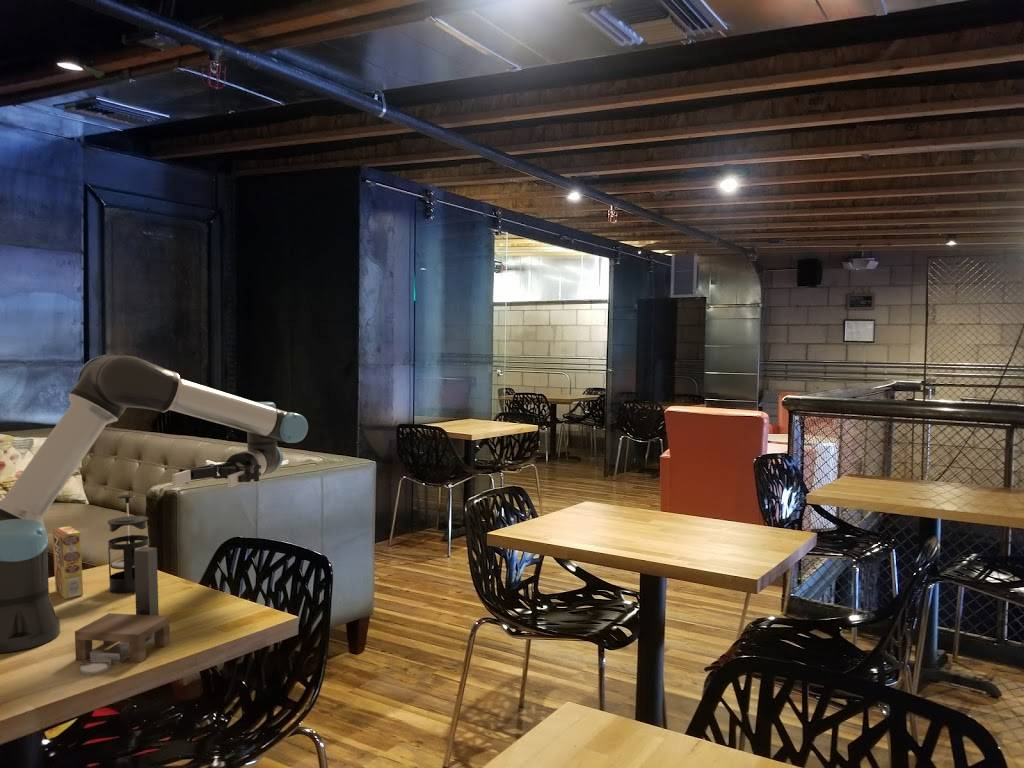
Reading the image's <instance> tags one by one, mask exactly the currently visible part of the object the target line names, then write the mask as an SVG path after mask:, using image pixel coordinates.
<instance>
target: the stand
mask: <svg viewBox="0 0 1024 768" xmlns="http://www.w3.org/2000/svg"><path fill="white" fill-rule="evenodd" d="M170 629H171V628H170V615H159V616H158V615H136V613H135V614H133V613H132V614H131V613H111V612H109V613H107V614H105V615H103V616H101V617H100V618H98V619H96V620H93V621H92V622H91V623H88V624H86V625H84V626H82V627H80V628H79V629H78V630H75V631H74V642H75V643H74V645H75V661H82V662H84V661H86V660H88V659H90V652H91V651H93V641H97V642H98V641H99V642H103V645H115V643H116V644H117V643H119V642H129V657H128V659H129V664H137V663H140V664H141V663H143V662H144V661H146V660H147V654H146V647H147V646H145V638H147V637H149V636H150V635H152V634H153V633H154V638H155V640H154V647H155V646H157V647H159V648H165V647H166V646H168V645H169V644H171V637H170V636H171V634H170V632H171V631H170ZM157 647H156V648H157ZM145 659H146V660H145Z"/></svg>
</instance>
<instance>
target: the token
mask: <svg viewBox="0 0 1024 768" xmlns="http://www.w3.org/2000/svg"><path fill="white" fill-rule="evenodd" d="M111 668H112V664H111V659H110V658H107V657H97V658H92V659H90V658H89V659H87V660H86V661H82V662H81V663H80V664H79V671H80V672H79V674H81V675H83V674H84V676H91V675H92V676H93V675H94V676H95V675H98V674H102V673H105V672H107V671H109V670H110V669H111Z"/></svg>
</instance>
